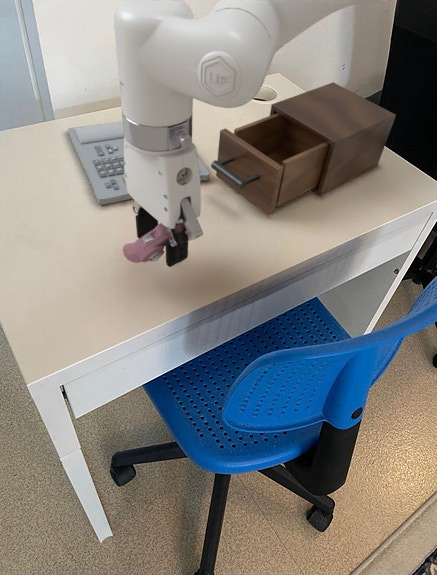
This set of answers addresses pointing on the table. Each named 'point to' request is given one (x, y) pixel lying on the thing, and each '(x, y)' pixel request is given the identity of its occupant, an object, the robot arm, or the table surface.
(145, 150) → the robot arm
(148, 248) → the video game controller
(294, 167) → the drawer
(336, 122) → the cabinet
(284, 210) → the table surface
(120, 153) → the office telephone
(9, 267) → the table surface
